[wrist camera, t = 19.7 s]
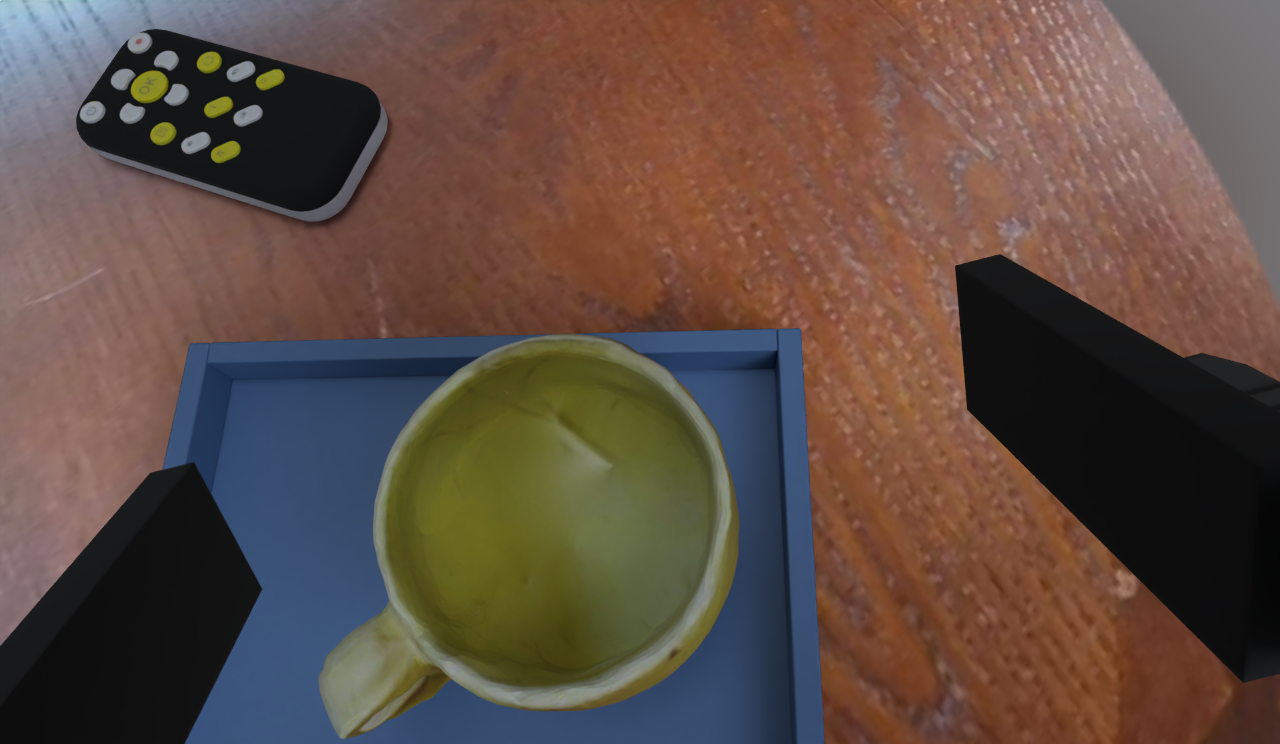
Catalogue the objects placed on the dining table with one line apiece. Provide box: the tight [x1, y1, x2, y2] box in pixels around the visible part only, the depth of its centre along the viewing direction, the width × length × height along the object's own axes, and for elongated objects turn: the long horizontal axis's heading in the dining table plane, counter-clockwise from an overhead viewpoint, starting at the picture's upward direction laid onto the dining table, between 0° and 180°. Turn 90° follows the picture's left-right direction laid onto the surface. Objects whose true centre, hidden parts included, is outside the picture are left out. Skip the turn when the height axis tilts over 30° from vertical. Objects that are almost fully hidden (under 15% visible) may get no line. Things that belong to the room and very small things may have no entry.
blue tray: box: [163, 328, 825, 744], centre depth 26 cm, size 22×22×2 cm
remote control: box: [76, 29, 388, 222], centre depth 35 cm, size 6×13×2 cm, turn 69°
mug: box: [318, 334, 740, 739], centre depth 24 cm, size 12×10×10 cm
